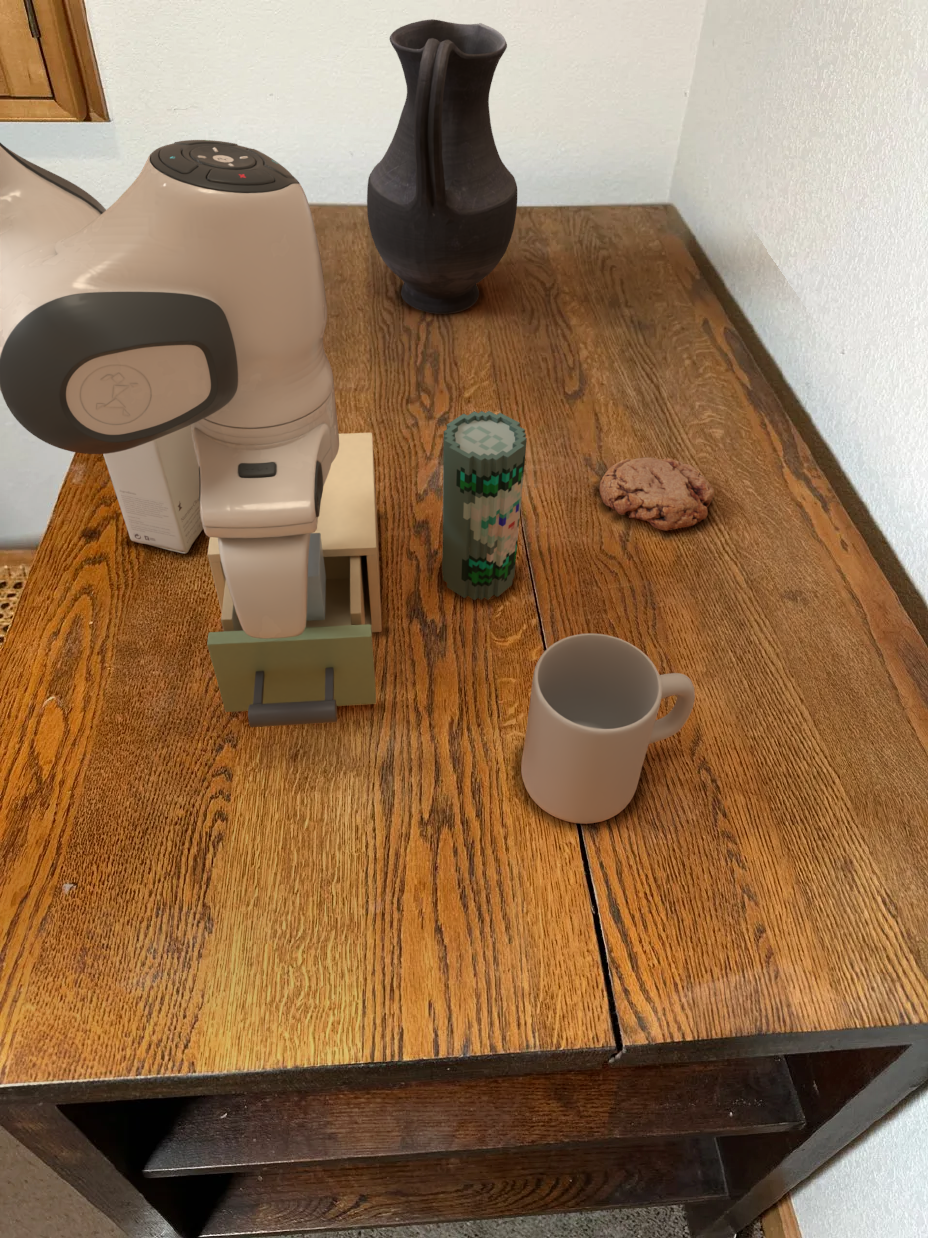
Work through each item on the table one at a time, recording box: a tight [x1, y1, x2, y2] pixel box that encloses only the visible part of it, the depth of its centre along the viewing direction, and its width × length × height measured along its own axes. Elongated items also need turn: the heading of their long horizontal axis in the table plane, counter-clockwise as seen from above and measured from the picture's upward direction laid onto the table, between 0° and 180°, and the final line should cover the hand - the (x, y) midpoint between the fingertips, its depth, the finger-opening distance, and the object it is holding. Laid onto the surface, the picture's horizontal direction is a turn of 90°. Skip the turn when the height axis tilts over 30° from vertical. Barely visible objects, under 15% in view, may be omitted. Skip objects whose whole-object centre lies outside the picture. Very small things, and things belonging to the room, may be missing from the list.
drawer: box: [206, 555, 377, 728], centre depth 71 cm, size 18×11×8 cm, turn 5°
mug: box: [520, 632, 696, 825], centre depth 65 cm, size 12×8×11 cm
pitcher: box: [366, 18, 518, 315], centre depth 104 cm, size 17×21×30 cm
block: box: [306, 533, 326, 621], centre depth 67 cm, size 4×4×4 cm
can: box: [441, 410, 528, 601], centre depth 77 cm, size 6×6×15 cm
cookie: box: [599, 456, 715, 531], centre depth 89 cm, size 10×11×3 cm
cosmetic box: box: [102, 425, 204, 554], centre depth 81 cm, size 8×6×15 cm
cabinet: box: [207, 432, 383, 633], centre depth 78 cm, size 15×13×10 cm
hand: (291, 584), depth 68 cm, fingers closed on block, 4 cm apart
